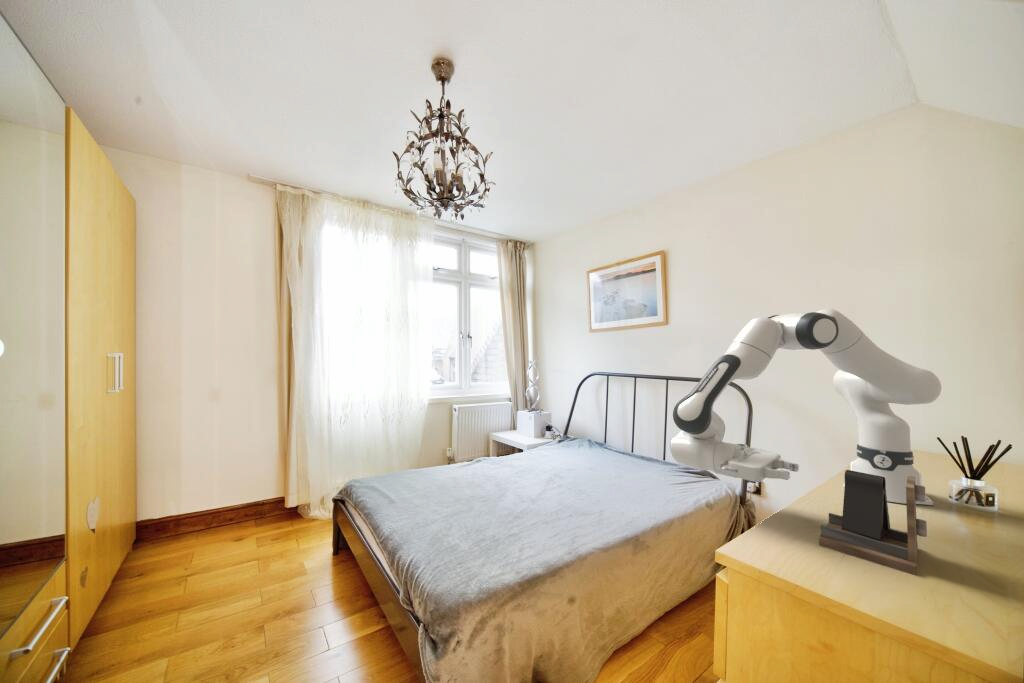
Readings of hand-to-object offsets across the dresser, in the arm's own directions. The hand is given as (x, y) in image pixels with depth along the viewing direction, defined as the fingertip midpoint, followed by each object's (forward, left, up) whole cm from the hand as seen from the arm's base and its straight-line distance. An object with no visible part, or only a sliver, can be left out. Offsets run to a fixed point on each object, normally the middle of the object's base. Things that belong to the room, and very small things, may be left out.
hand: (794, 471), depth 89 cm
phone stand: (+1, +13, -9) cm, 16 cm away
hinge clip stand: (+1, +13, -13) cm, 18 cm away
